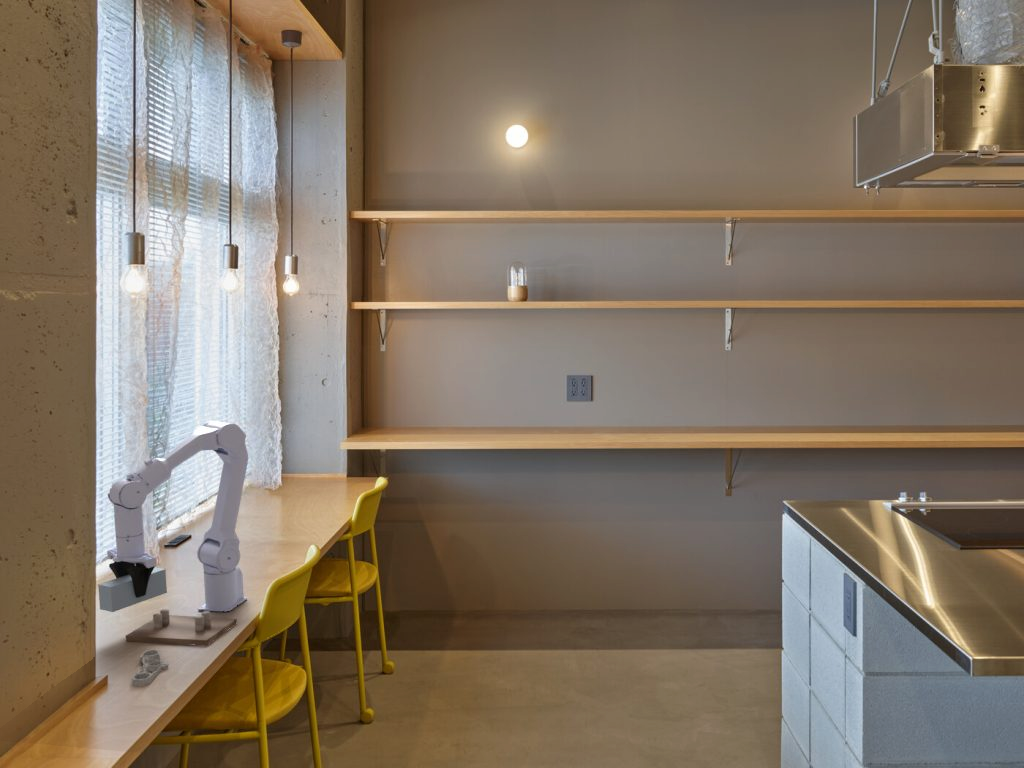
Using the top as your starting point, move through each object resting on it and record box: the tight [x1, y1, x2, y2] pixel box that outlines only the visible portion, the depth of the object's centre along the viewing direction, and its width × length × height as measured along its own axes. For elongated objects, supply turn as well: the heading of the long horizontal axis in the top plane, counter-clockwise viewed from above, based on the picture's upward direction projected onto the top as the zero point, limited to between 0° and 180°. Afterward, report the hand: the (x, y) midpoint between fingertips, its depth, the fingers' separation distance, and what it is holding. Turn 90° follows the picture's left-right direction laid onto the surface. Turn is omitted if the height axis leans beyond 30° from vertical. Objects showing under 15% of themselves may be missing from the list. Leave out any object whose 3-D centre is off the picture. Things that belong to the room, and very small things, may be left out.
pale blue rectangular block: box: [97, 566, 168, 613], centre depth 201 cm, size 14×4×6 cm, turn 150°
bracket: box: [131, 649, 170, 687], centre depth 181 cm, size 8×2×15 cm
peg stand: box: [125, 608, 238, 646], centre depth 201 cm, size 13×19×4 cm
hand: (133, 594), depth 202 cm, fingers closed on pale blue rectangular block, 4 cm apart
